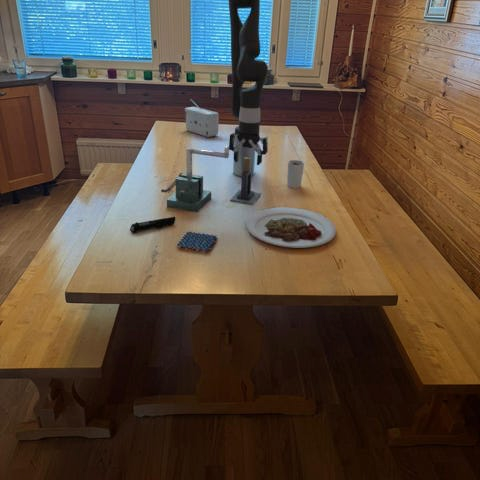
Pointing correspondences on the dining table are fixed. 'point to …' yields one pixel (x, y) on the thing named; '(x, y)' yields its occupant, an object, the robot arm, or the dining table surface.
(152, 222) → the electric trimmer
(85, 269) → the dining table surface
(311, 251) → the dining table surface
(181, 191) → the vise
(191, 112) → the stereo radio cassette player
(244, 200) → the slate pad
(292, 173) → the grey cup
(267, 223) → the plated food
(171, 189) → the tomahawk
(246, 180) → the brown and black post
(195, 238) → the woven mat
